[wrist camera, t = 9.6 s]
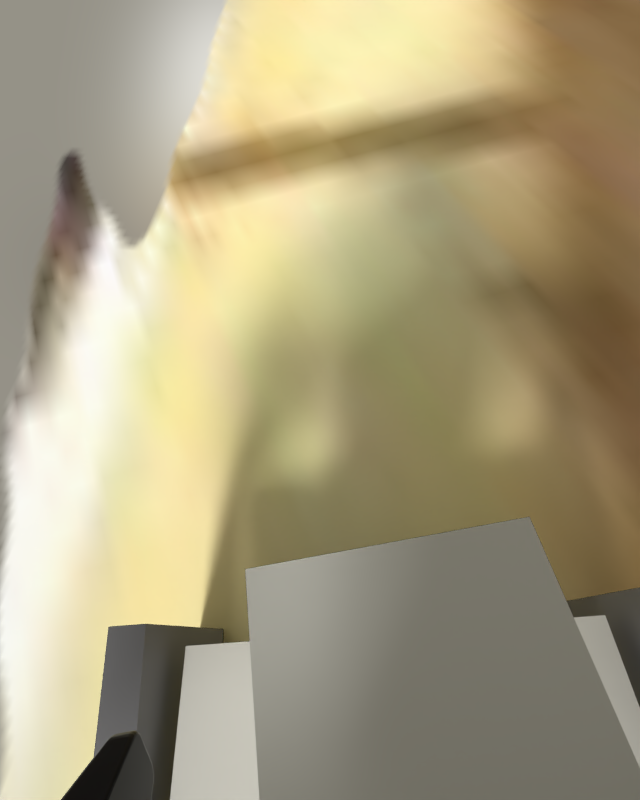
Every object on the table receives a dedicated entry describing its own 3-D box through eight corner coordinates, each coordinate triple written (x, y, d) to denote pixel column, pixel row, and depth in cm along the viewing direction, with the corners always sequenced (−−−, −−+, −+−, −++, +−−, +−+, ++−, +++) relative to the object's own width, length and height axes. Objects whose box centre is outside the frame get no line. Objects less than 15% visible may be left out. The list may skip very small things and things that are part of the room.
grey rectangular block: (541, 845, 11) (710, 929, 6) (324, 888, 11) (272, 1018, 5) (467, 614, 14) (529, 516, 9) (297, 646, 14) (244, 569, 8)
